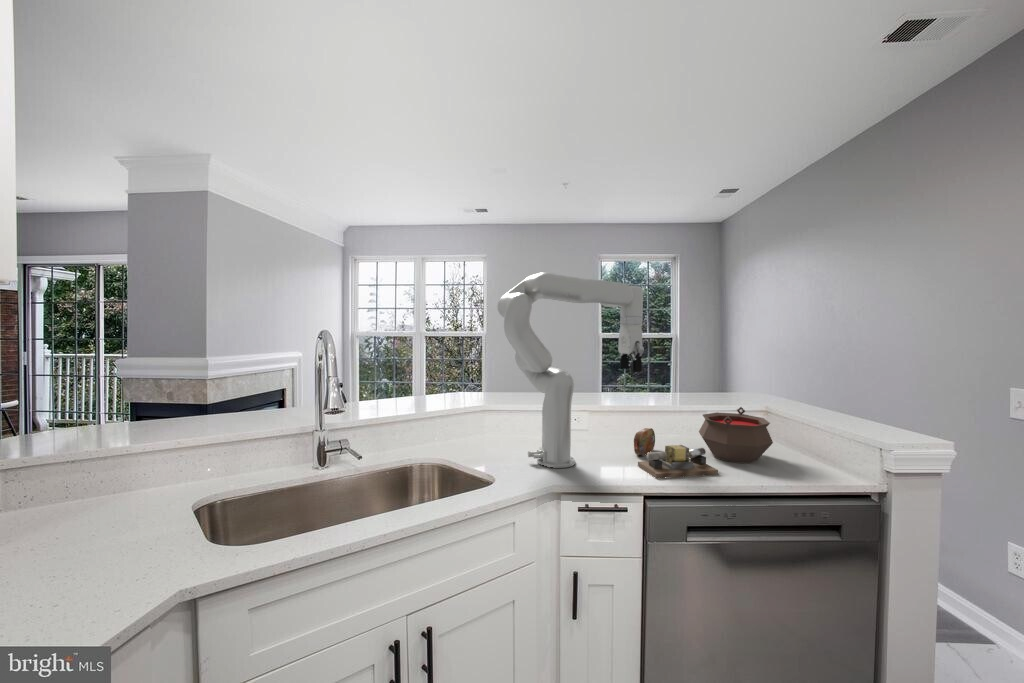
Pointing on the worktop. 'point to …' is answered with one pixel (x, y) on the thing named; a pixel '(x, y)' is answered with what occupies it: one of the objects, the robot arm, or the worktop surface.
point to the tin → (644, 441)
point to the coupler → (677, 453)
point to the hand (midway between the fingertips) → (630, 370)
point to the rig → (673, 467)
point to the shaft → (698, 456)
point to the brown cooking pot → (736, 436)
